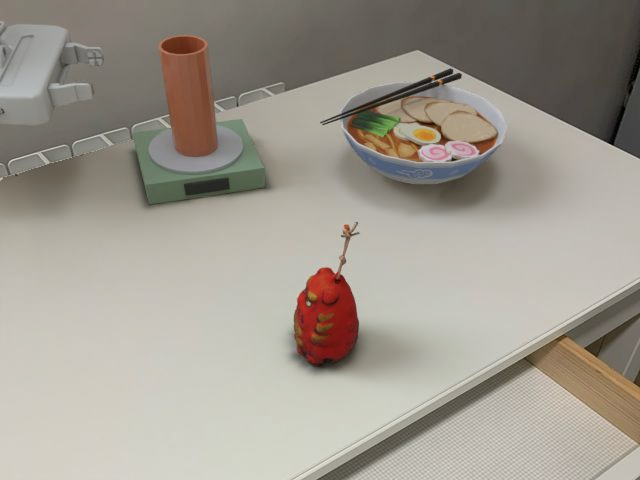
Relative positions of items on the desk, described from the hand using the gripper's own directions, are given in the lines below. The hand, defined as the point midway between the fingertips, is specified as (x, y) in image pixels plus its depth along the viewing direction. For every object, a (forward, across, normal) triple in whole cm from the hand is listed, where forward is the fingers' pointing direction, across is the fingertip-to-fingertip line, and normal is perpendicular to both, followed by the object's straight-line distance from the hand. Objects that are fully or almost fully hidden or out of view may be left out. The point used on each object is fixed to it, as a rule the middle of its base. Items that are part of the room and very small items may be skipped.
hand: (97, 72), depth 83 cm
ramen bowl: (+42, -1, +14) cm, 44 cm away
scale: (+11, +1, +14) cm, 17 cm away
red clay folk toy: (+26, -36, +14) cm, 47 cm away
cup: (+11, +1, +10) cm, 15 cm away
